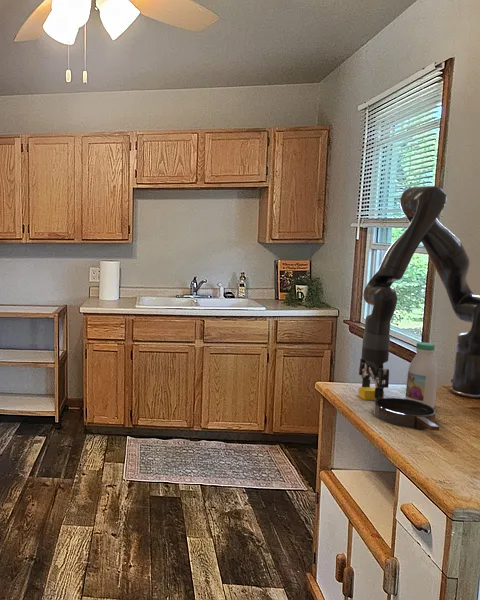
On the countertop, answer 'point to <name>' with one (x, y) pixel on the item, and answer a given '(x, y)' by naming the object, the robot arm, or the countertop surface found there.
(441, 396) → the countertop surface
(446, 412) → the countertop surface
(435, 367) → the milk bottle
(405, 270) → the robot arm
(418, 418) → the pan handle
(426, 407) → the pan
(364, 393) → the sponge
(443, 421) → the countertop surface
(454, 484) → the countertop surface
